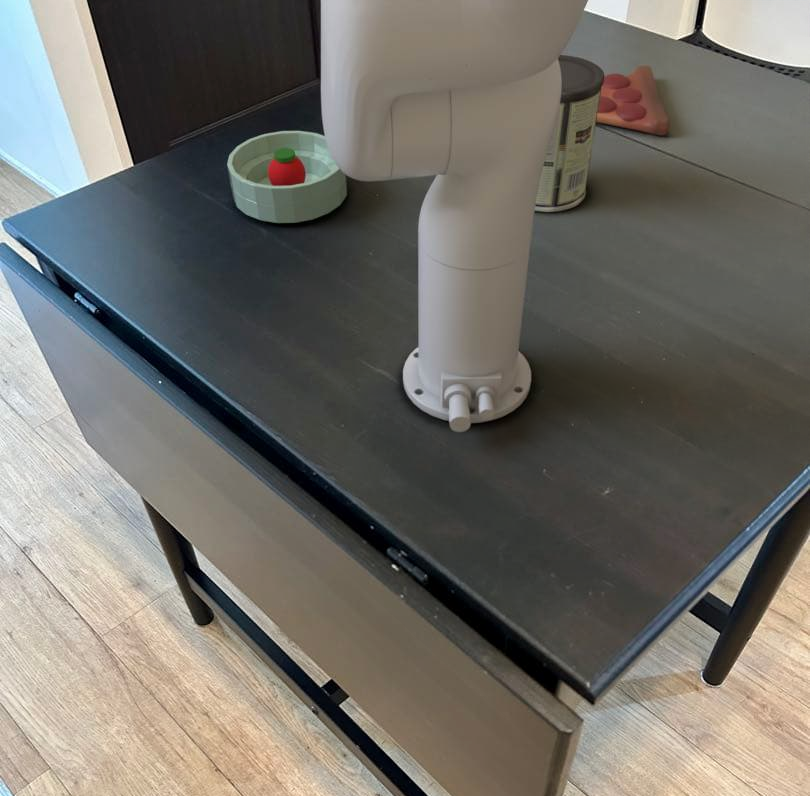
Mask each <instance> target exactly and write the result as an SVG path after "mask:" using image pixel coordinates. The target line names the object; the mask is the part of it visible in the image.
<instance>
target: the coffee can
mask: <svg viewBox="0 0 810 796" xmlns="http://www.w3.org/2000/svg"><path fill="white" fill-rule="evenodd" d="M558 61H559V65H560V70H561V79H562V88H561V99H560V107H559V112H558V116H557V120H556V125H555V128H554V131H553V135H552V138H551V141H550V144H549V148H548V151H547V154H546V158H545V162H544V165H543V169H542V173H541V178H540V182H539V187H538V193H537V199H536V205H535V212H540V213H555V212H562V211H563V212H564V211H567V210H569V209H573V208H574V207H576V206H578V205H579V204H580V203H582V202H583V200H584V199H585V197H586V194H587V190H586V188H587V183H588V176H589V172H590V171H589V170H590V163H591V158H592V151H593V144H594V137H595V131H596V125H597V122H596V120H597V113H598V107H599V100H600V93H601V87H602V85H603V82H604V77H605V72H604V70H603V69H602V67H600V66H599V65H597V64H596V63H594V62H592V61H590V60H588V59H585V58H581V57H578V56H573V55H564V54H560V56H559V57H558Z"/></svg>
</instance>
